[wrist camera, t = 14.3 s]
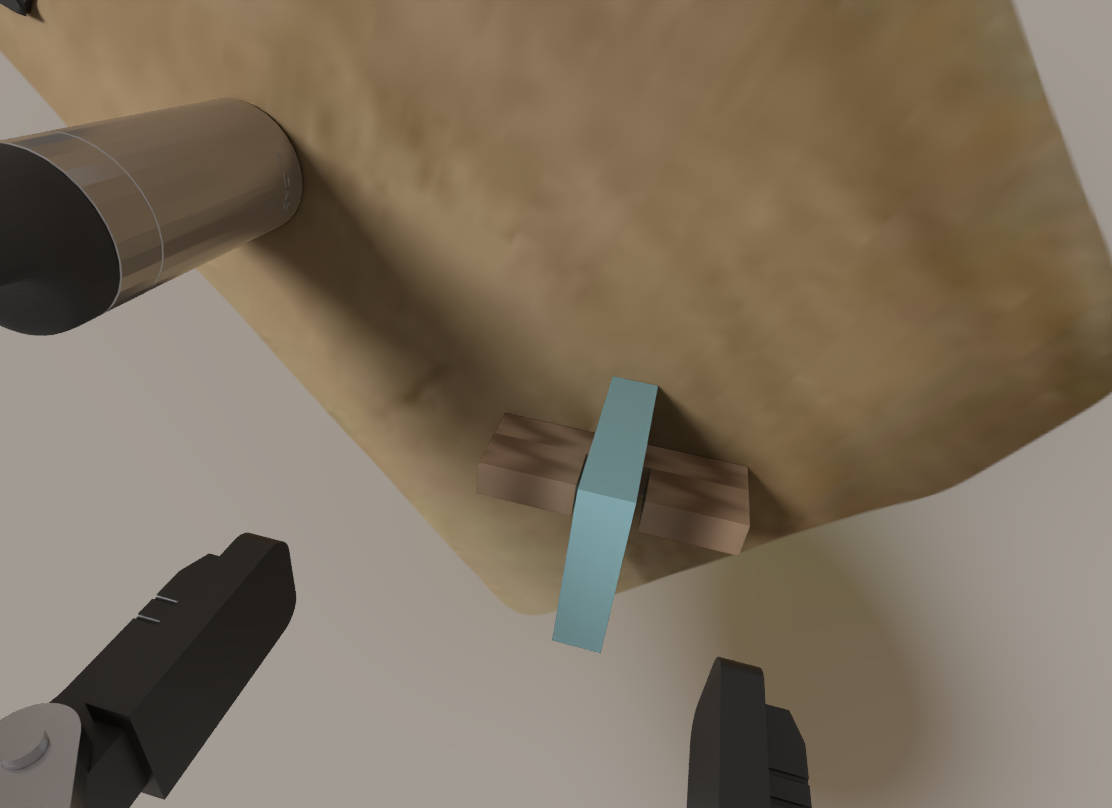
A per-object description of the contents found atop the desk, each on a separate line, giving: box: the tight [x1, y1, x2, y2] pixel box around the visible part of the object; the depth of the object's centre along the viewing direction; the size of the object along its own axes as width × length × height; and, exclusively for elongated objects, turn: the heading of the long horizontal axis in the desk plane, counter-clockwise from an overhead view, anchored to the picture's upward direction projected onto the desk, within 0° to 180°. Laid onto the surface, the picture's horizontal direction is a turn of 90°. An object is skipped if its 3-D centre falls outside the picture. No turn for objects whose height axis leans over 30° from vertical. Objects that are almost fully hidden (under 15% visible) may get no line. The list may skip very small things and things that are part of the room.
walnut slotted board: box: [477, 413, 750, 556], centre depth 51 cm, size 20×3×7 cm, turn 83°
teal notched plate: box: [552, 376, 658, 653], centre depth 48 cm, size 14×4×14 cm, turn 173°
